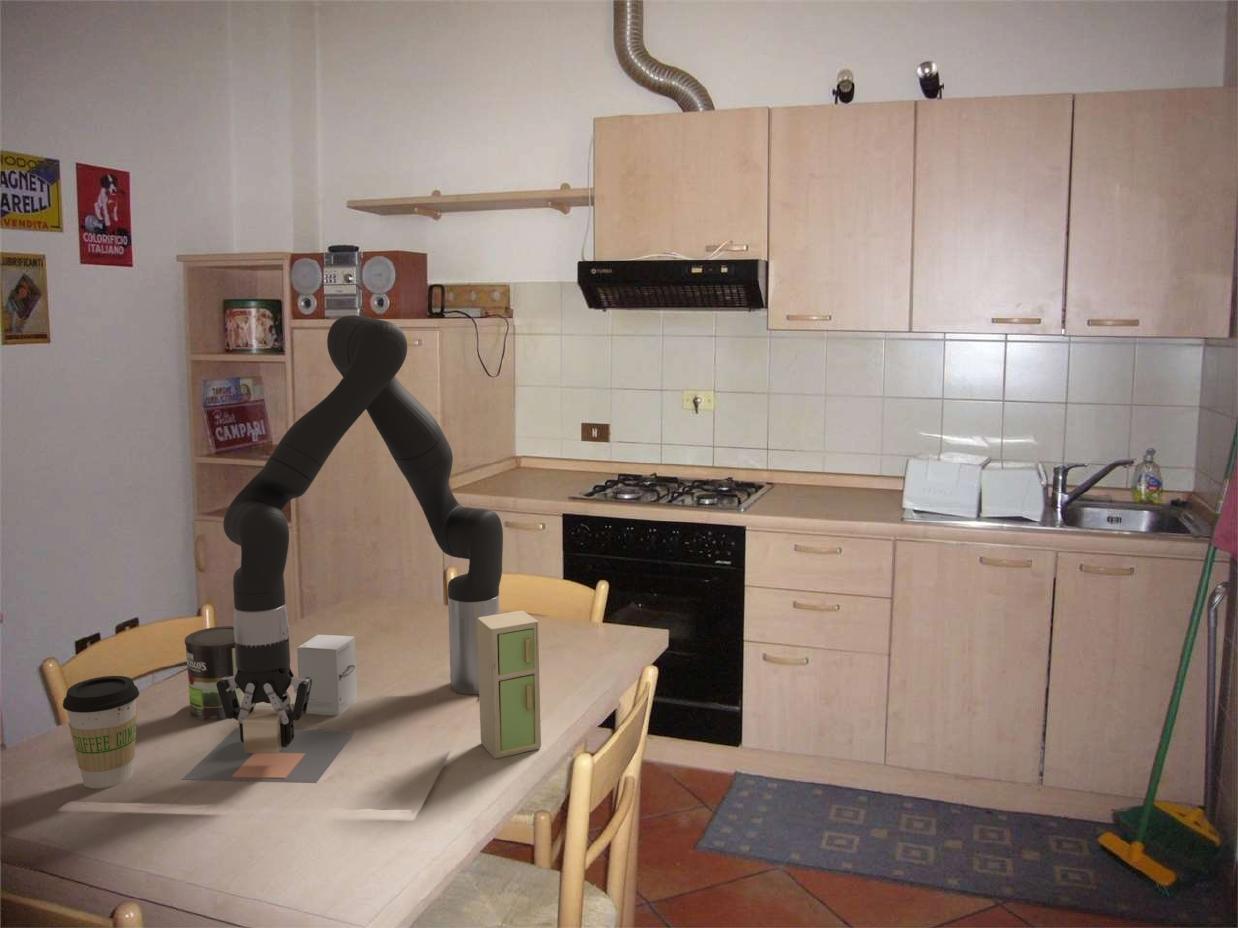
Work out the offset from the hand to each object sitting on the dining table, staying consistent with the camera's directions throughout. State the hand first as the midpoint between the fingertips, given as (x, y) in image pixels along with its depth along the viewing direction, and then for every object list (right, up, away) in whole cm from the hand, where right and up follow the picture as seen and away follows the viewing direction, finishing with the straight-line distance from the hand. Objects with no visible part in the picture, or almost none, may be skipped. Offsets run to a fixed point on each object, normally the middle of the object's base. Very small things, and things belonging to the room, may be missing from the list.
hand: (268, 744), depth 147 cm
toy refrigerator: (+35, -3, +9) cm, 37 cm away
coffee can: (-16, -1, +23) cm, 28 cm away
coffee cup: (-22, -5, -3) cm, 23 cm away
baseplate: (-1, -4, +5) cm, 6 cm away
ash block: (0, 0, 0) cm, 0 cm away
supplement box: (+2, -1, +24) cm, 24 cm away
